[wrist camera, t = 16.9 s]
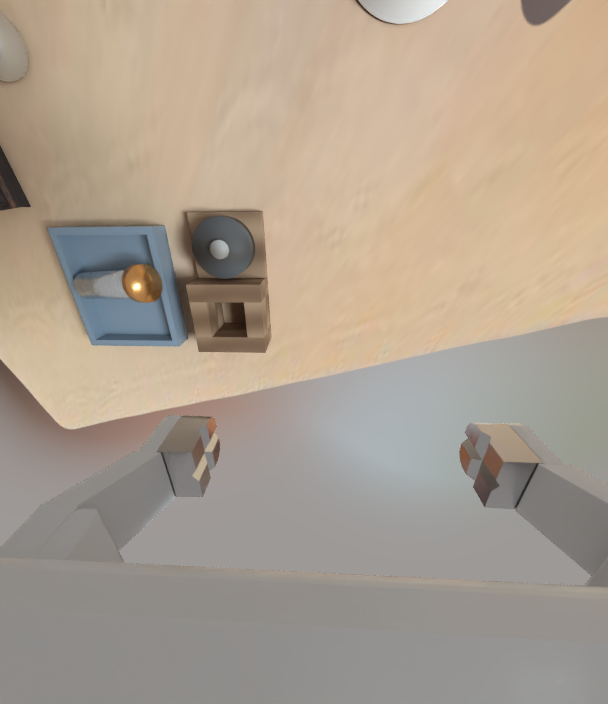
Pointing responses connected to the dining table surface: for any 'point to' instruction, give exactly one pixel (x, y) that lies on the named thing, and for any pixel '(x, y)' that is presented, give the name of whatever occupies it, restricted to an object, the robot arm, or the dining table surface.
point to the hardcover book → (10, 187)
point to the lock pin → (121, 284)
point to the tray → (117, 254)
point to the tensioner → (229, 280)
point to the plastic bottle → (11, 52)
